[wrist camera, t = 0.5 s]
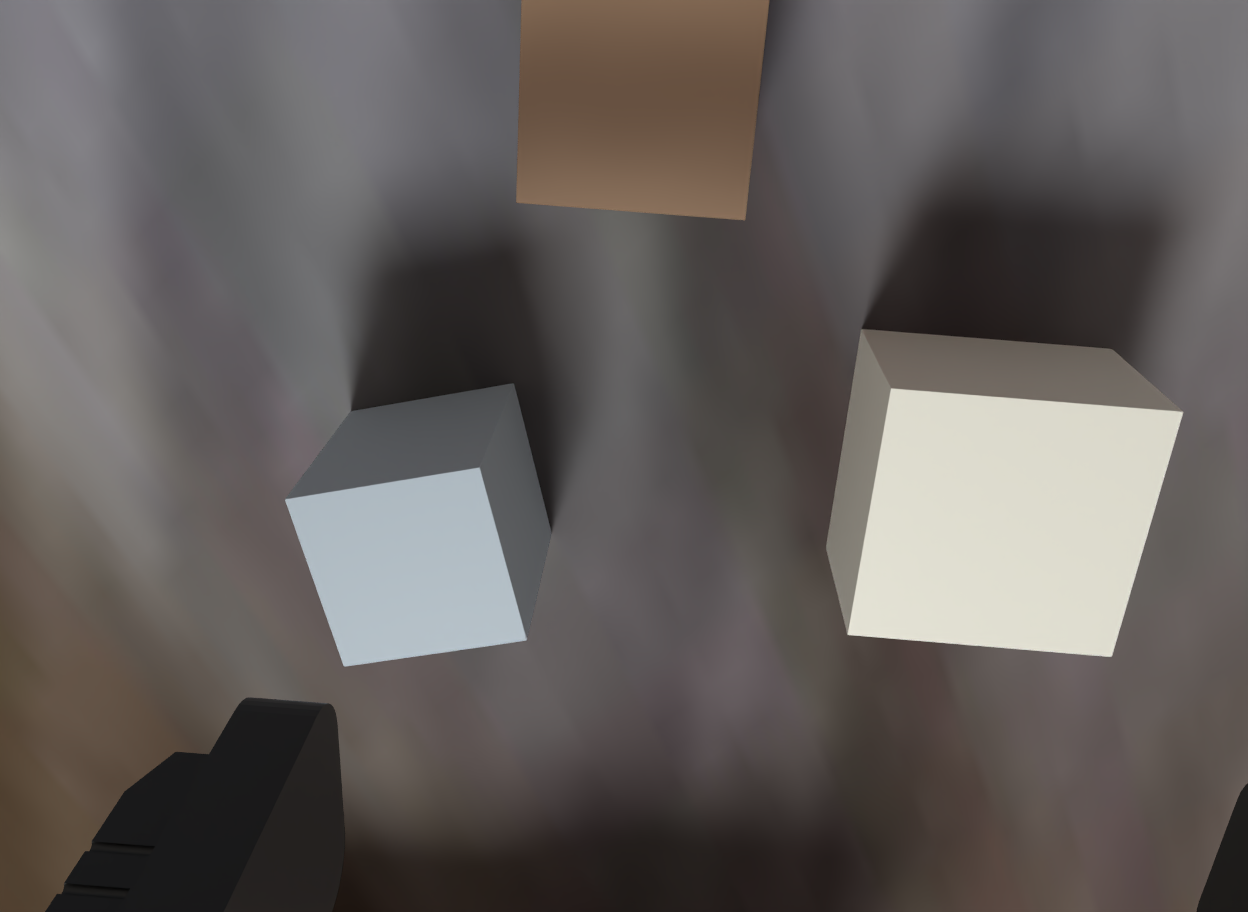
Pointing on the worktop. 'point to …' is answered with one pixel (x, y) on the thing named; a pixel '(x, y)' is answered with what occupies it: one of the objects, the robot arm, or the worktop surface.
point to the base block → (995, 491)
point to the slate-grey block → (425, 526)
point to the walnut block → (639, 104)
